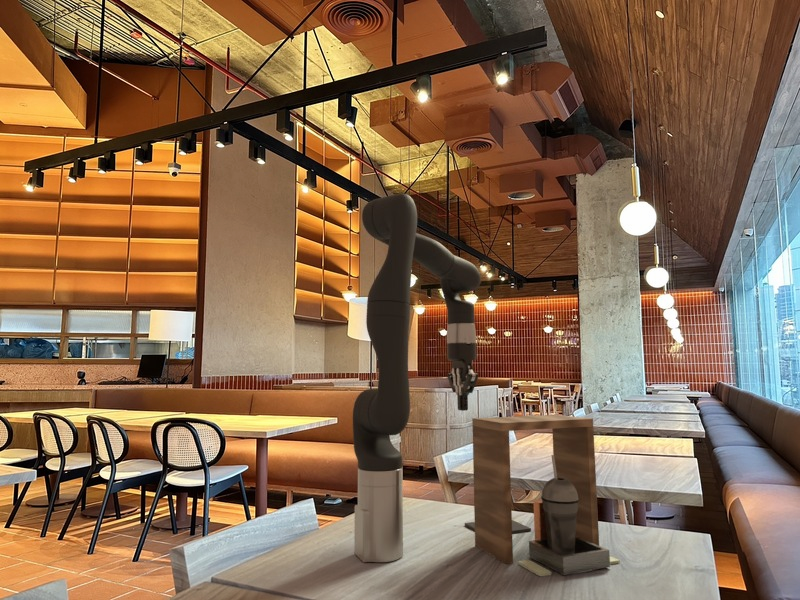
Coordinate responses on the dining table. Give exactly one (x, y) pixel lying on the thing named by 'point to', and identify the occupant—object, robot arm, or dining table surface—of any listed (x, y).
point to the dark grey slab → (515, 527)
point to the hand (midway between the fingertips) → (462, 410)
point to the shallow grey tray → (583, 560)
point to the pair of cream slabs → (543, 572)
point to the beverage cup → (560, 513)
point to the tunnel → (495, 482)
